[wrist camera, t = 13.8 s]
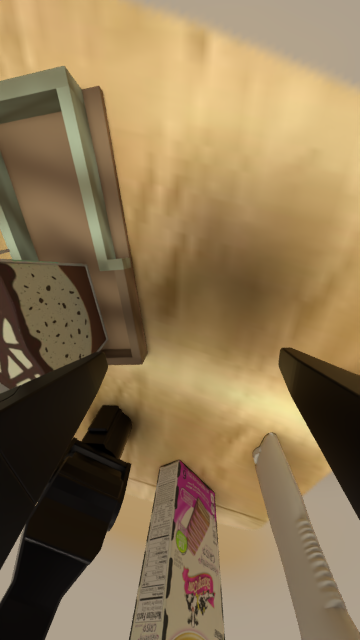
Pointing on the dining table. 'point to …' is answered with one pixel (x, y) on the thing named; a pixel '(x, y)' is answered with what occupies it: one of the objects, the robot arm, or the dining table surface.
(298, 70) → the dining table surface
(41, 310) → the food container
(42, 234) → the green flat tray
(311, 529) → the light grey flat bottle
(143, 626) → the candy bar box
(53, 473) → the robot arm
